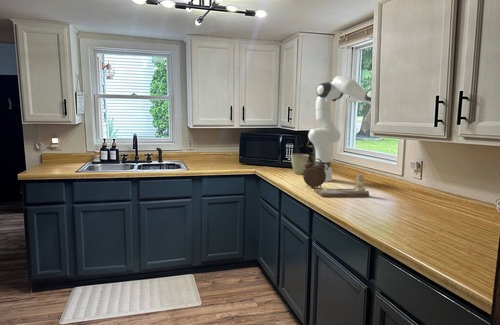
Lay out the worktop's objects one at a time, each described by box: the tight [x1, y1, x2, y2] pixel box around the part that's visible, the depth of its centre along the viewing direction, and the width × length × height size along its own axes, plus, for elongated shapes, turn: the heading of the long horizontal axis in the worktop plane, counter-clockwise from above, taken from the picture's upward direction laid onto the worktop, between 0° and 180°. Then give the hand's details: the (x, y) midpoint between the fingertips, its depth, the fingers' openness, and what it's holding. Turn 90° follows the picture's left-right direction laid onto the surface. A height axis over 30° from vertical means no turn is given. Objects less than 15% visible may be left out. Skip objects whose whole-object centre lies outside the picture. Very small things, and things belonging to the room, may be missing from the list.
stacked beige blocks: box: [352, 173, 366, 191], centre depth 218 cm, size 6×5×11 cm
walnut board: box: [313, 188, 370, 198], centre depth 218 cm, size 14×30×4 cm, turn 99°
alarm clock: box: [302, 157, 326, 189], centre depth 234 cm, size 15×7×20 cm, turn 53°
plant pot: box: [290, 153, 310, 175], centre depth 289 cm, size 15×15×16 cm
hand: (363, 131), depth 221 cm, fingers open, 8 cm apart
